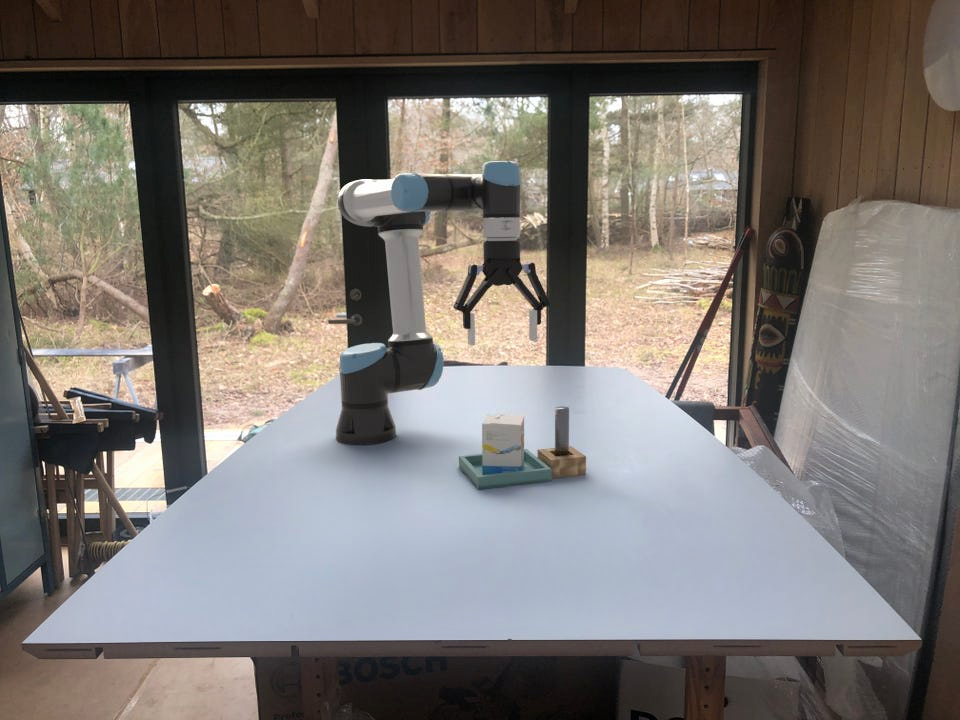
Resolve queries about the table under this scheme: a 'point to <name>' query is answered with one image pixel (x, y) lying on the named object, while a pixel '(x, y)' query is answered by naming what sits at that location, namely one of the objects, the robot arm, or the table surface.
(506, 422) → the ink box
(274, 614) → the table surface
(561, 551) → the table surface
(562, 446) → the cylinder
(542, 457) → the wooden frame
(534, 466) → the tray
